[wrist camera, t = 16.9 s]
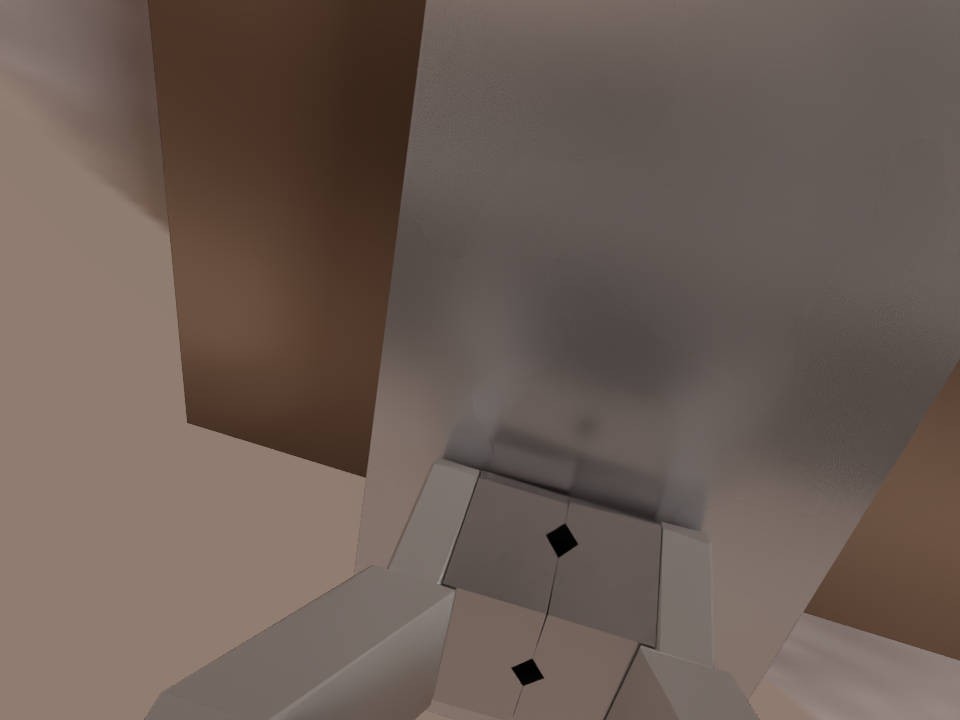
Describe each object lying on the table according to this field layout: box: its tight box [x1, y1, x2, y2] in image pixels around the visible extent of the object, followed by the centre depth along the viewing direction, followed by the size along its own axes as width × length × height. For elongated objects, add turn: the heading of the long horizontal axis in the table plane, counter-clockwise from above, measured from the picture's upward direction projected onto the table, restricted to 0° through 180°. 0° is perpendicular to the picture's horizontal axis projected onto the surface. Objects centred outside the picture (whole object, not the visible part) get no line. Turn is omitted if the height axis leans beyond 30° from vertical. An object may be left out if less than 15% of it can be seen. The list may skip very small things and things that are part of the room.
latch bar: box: [354, 0, 960, 720], centre depth 8 cm, size 12×5×1 cm, turn 170°
